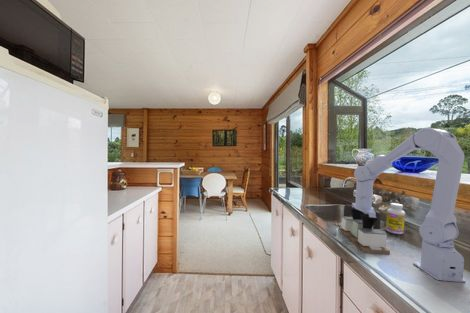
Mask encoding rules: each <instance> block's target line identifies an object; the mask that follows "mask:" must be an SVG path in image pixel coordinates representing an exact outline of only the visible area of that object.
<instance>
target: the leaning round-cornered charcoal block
mask: <svg viewBox="0 0 470 313" xmlns="http://www.w3.org/2000/svg"><path fill="white" fill-rule="evenodd" d="M350 209H353V207H352V204H345V205H344V206H343V216H346V217H352V214H351V212H350ZM373 211H374V212H376V217H377V218H378V220H377V221H376V222H375V223H374V225H373V229H380V230H381V217H382V215H381V212H380V211H379V210H376V209H374V210H373ZM363 215H366V214H365V213H364V214H363Z"/></svg>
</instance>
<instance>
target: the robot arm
mask: <svg viewBox="0 0 470 313" xmlns="http://www.w3.org/2000/svg"><path fill="white" fill-rule="evenodd" d="M418 150H426V151H428V152H430V153H431V155H433V156H434V157H435V158H436V159H438V165H437V170H436V174H435V182H434V186H433V187H434V188H433V193H432V196H431V197H432V199H431V203H430V208H429V211H428V212H427V214H426V215H425V217H424V221H423V222H422V223H421V224H420V226H419V228H418V232H419V236H420V237H421V238H422V241H421V251H420V252H421V255H420V262H419V261H413V265H415V266H416V267H417V268H419V269H421V270H422V271H424V272H425V273H426V274H428V275H429V276H431V277H432V278H434V280H438V281H445V282H446V281H447V282H448V281H450V282H457V283H459V282H462V283H466V282H467V280H466V279H465V278H464V268H465V259H464V256H463V255H462V254H461V253H460V252H458V251H457V249H456V248H455V242H454V240H456V239H457V237H458V236H459V234H460V233H459V232H460V231H459V228H458V226H457V220H458V219H457V217H456V215H455V210H456V203H457V199H458V194H459V187H460V184H461V176H462V174H463V173H462V172H463V167H464V162H465V153H464V151H463V149H462V148H461V146H460V144H459V143H458V141H457V136H455V135H454V134H453V133H451V132H449V130H446V129H438V128H433V127H428V126H427V127H422V128H419V129H418V130H417V131H416V132H414V133H412V134H410V135H409V136H408V138H406V139H404V141H402V142H401V143H399V144H398V145H397V146H395V148H393V149H392V150H390V151H389V152H388V153H386V154H385V155H384V154H379V155H374V156H373V159H372V160H370V161H369V162H365V163H364V165H363V166H362V165H359V166H357V167H356V168H355V170H354V172H353V176H354V178H355V180H356V186H355V187H356V188H355V202H352V203H351V205H352V207H353V209H350V212H351V214H352V217H353V219H354V220H362V223H363V228H364V229H372V227H373V225H374V223H375V222H376V221H377V220H378V218H377V217H376V212H374V211H373V210H375V208H374V207H373V206H372V205H373V204H372V203H373V188H374V182H375V180H376V179H377V178H378V176H379V175H380V174H383V173H384V172H385V171H387V170H389V169H391V168H392V167H393V162H396V161H398V160H399V159H401V158H403V157H404V156H406V155H408V154H410V153H411V152H414V151H418ZM364 213H365V214H366V215H363V214H364Z"/></svg>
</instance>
